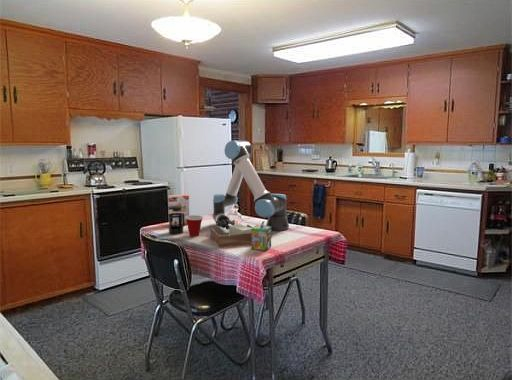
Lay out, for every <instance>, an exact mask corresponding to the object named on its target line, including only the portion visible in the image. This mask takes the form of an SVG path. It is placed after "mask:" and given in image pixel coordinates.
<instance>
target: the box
mask: <svg viewBox="0 0 512 380" xmlns="http://www.w3.org/2000/svg"><path fill="white" fill-rule="evenodd" d="M246 226H247V227H250V228H253V227H254V226H252V225H250V224H246ZM210 238H211V240H212V241H213V242H214V243H215V244H216V245H217V246H218V247H219V248H222V247H223V248H225V247H233V246H235V247H236V246H242V245H244V246H245V245H252V233H245V234H235V235H230V234H227V235H220V234H219V233H218V232H217V231H216V230H215V229H214V228H213V227H210Z"/></svg>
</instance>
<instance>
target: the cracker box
mask: <svg viewBox="0 0 512 380" xmlns="http://www.w3.org/2000/svg"><path fill="white" fill-rule="evenodd" d="M172 197H178V198H176V200H174V198H172ZM167 198H168V207H169V206H182V210H181V211H176V213H184V222H185V226H188V225H187V221H186V218H185V217H186V216H189V215H190V195H189V194H171V195H168V197H167ZM171 213H175V211H173V210H172V209H171V210H169V209H168V214H171ZM172 216H175V215H172ZM176 216H178V215H176ZM177 221H178V222H179V217H178V218H176V222H177ZM173 222H175V218H173ZM173 226H177V225H173ZM182 226H183V222H182Z"/></svg>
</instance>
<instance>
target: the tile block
mask: <svg viewBox="0 0 512 380" xmlns="http://www.w3.org/2000/svg"><path fill="white" fill-rule="evenodd" d="M229 228H230V230H229V235H235V234H245V233H251V230H252V228H250V227H247V225H243V224H234V225H232V226H229Z"/></svg>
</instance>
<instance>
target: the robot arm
mask: <svg viewBox="0 0 512 380" xmlns="http://www.w3.org/2000/svg"><path fill="white" fill-rule="evenodd" d="M223 150H224V154H225V156H226V158H228V159H229V160H231V161H232V163H233V164H234V169H233V171H232V174H231V178H230V180H229V184H228V186H227V187H228V188H227V190H226V193H225V195H224V194H223V193H218V194H217V193H215V194H214V195H213V199H212V201H213V202H212V203H213V213H212V219H213V220H214V222H215V226H217V227H219V228H222V229H226V230H229V231H230V228H229V226H232V225H236V219H232V220H231V219H230V218H229V216H227V214H226V211H225V208H227V207H231V206H233V205H236V204H237V203H238V196H237V195H238V192H239V190H240V187H241V184H242V180H243V179H244V180H245V182H246V184H247V186H248V188H249V190H250V191H251V193H252V195H253V197H254V199H253V202H254V203H255V204H254V210H255V213H256V214H257V216H259V217H261V218H267V222H266V225H265V226H271V231H279V232H280V231H287V230H289V228H290V224H289V221H288V217H287V196H286V194H283V193H282V194H281V193H271V191H268V190H267V189H266V187H265V185H264V183H263V182H262V180H261V178H260V176H259V175H258V173H257V171H256V168H255V167H254V166H253V163H252V162H251V159H252V156H253V152H254V151H253V146H252V144H251V143H250V142H249V141H248V140H245V139H243V140H242V139H241V140H236V139H233V140H229V141H228V142H227V143H226V144H225V146H224V149H223Z"/></svg>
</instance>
